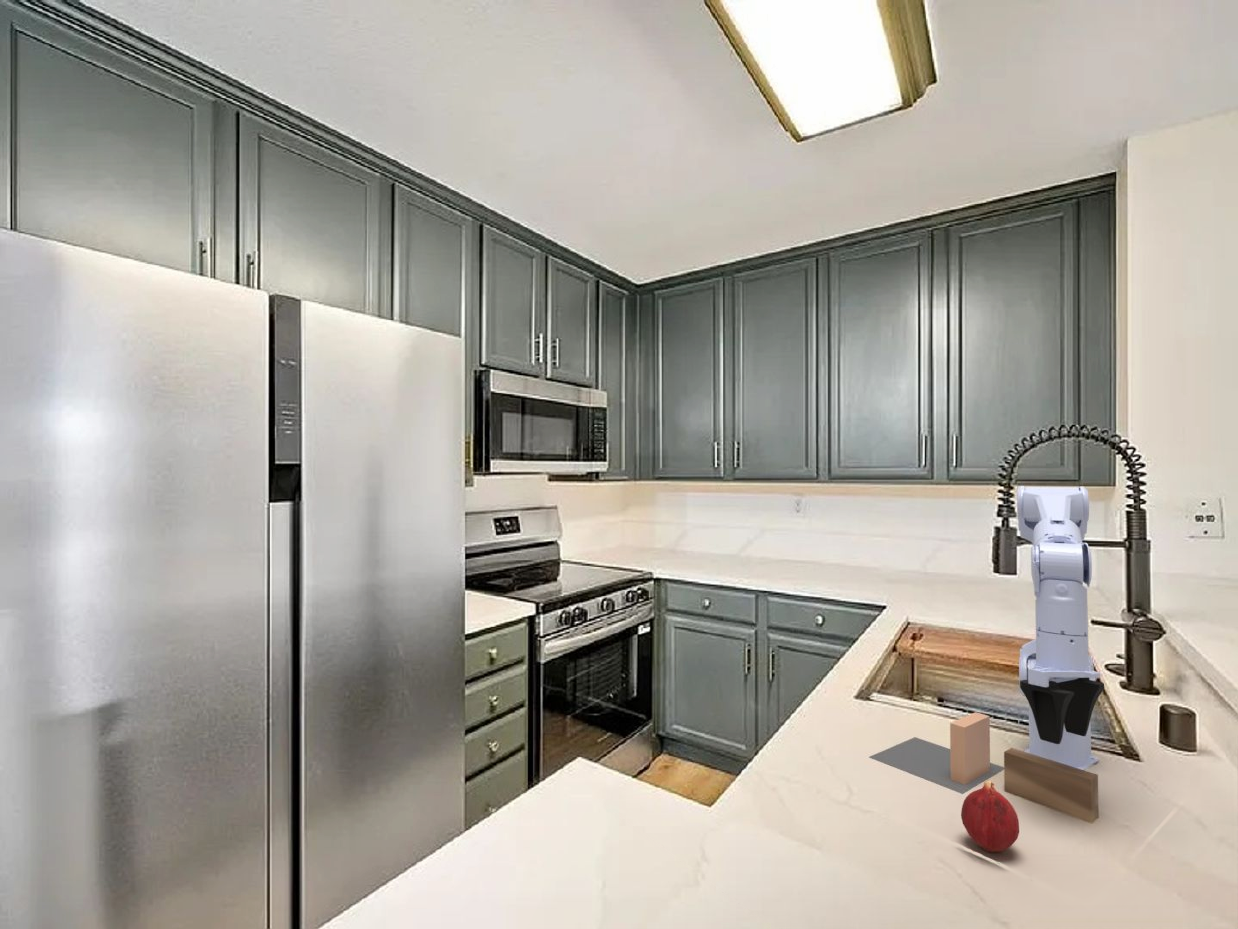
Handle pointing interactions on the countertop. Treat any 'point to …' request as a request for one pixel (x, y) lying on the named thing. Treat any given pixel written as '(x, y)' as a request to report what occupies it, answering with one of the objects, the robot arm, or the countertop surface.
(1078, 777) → the wooden plank piece
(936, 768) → the mat
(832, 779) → the countertop surface
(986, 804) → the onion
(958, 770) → the tile
